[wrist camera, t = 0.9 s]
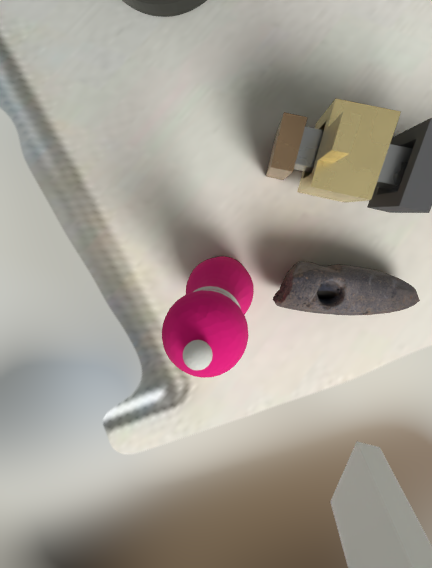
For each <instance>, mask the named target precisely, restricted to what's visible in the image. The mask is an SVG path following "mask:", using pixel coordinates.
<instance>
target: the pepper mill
mask: <svg viewBox="0 0 432 568" xmlns="http://www.w3.org/2000/svg"><path fill="white" fill-rule="evenodd" d="M252 298H253V282H252V279H251V277H250V275H249V273H248V272H247V270H246V269H245V268H244V267H243V266H242V264H241V263H239V262H238V261H237V260H235V259H233V258H230V257H223V256H221V257H215V258H211V259H207V260H205V261H203V262H201V263H200V264H199V265H198V266H197V267H196V268H195V269H194V270H193V271H192V273H191V275H190V277H189V279H188V282H187V285H186V295H185V296H183V297H182V298H180V299H179V300H178V301H176V302H175V303H174V305H173V306H172V307H171V308H170V310H169V311H168V313H167V315H166V317H165V320H164V323H163V328H162V340H163V345H164V349H165V351H166V354H167V355H168V357H169V359H170V360H171V361H172V362H173V363H174V364H175V366H177V367H178V368H179V369H181V370H182V371H184V372H186V373H188V374H190V375H193V376H197V377H214V376H218V375H221V374H223V373H225V372H227V371H228V370H230V369H231V368H232V367H233V366H235V365H236V363H237V362H238V361H239V360H240V358H241V357H242V355H243V353H244V351H245V349H246V345H247V341H248V327H247V322H246V319H245V316H244V314H245V313H246V312H247V310H248V309H249V307H250V305H251V302H252Z"/></svg>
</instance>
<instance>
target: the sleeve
mask: <svg viewBox="0 0 432 568" xmlns="http://www.w3.org/2000/svg"><path fill="white" fill-rule="evenodd" d="M400 113H401V112H400V111H395V110H390V109H385V108H380V107H375V106H370V105H366V104H361V103H356V102H351V101H346V100H341V99H335V100H334V101H333V102H332V104H331V105H330V106H329V108H328V109H327V110H326V111H325V113H324V114H323V115H322V117H321V118H320V119H319V120H318V122H317V123H316V126H315V128H316V129H320V130H324V132H323V135H322V139H321V142H320V146H319V149H318V153H317V156H316V160H315V164H314V167H313V171H312V173H309V172H304V171H303V173H302V177H301V180H300V184H299V188H298V191H297V192H299V193H304V194H309V195H313V196H318V197H322V198H327V199H331V200H336V201H341V202H356V201H366V200H371V199H372V196H373V193H374V190H375V187H376V184H377V181H378V178H379V175H380V172H381V169H382V166H383V163H384V160H385V157H386V154H387V151H388V148H389V145H390V143H391V140H392V137H393V134H394V131H395V128H396V125H397V122H398V119H399V116H400Z"/></svg>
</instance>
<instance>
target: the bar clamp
mask: <svg viewBox="0 0 432 568" xmlns="http://www.w3.org/2000/svg"><path fill="white" fill-rule="evenodd" d="M306 121H307V117H304V116H299V115H294V114H289V113H284V114H283V117H282V119H281V122H280V125H279V127H278V130H277V133H276V136H275V140H274V144H273V149H272V153H271V157H270V161H269V165H268V169H267V173H266V176H267V177H271V178H276V179H280V180H284V179H285V178H287V177H288V176H289V175H290V174H291V173H292V172H293V170H294V169H295V170H300V171H304V172H309V173H312V171H313V167H314V164H315V160H316V156H317V153H318V149H319V146H320V142H321V139H322V135H323V132H324V130H320V129H316V128H311V127H306V126H305V125H306ZM412 150H413V149H412V148H407V147H402V146H397V145H392V144H390V145H389V148H388V151H387V154H386V157H385V160H384V163H383V166H382V169H381V172H380V175H379V178H378V181H377V184H376V187H379V188H383V189H388V190H393V191H397V192H398V189H399V186H400V183H401V181H402V178H403V175H404V172H405V169H406V167H407V164H408V161H409V158H410V155H411V153H412Z"/></svg>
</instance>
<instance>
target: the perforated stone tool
mask: <svg viewBox="0 0 432 568" xmlns="http://www.w3.org/2000/svg"><path fill="white" fill-rule="evenodd" d="M273 300H274V301H275V303H276V305H277V306H280V307H284V308H289V309H294V310H299V311H305V312H313V313H323V314H334V315H372V314H381V313H390V312H394V311H400V310H403V309H406V308H409V307H411V306H413V305H415V304H416V303H417V302H419V301H420V300H419V298H418V295H417V292H416V290H415V288H414V287H412V286H411V285H410V284H408V283H406V282H405V281H403V280H401V279H399V278H396V277H394V276H392V275H389V274H387V273H384V272H380V271H376V270H372V269H367V268H362V267H355V266H348V265H341V264H339V265H330V266H327V267H323V266H320V265H318V264H315V263H312V262H299V263H296V264H295V265H294V266H293V267H292V269H291V270H290V271H288V274H287V275H286V277H285V279H284V281H283V283H282V284H281V286H280V290H278V291H277V293H276V294H275V296H274V297H273Z"/></svg>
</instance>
